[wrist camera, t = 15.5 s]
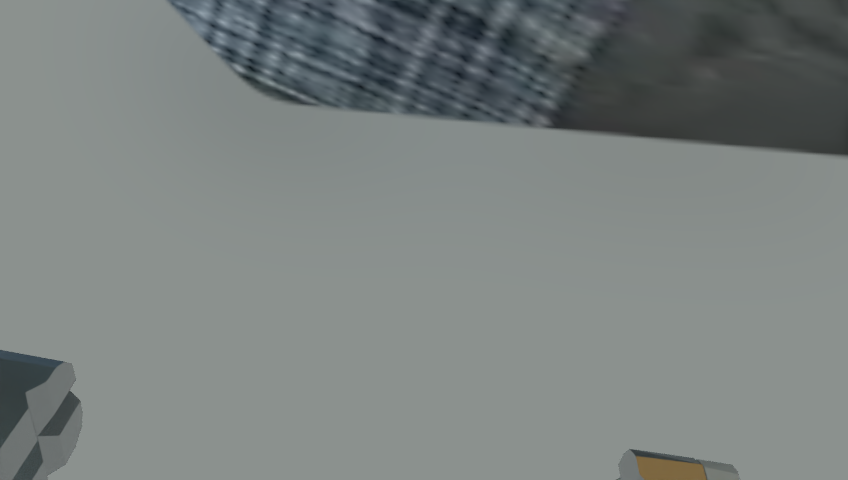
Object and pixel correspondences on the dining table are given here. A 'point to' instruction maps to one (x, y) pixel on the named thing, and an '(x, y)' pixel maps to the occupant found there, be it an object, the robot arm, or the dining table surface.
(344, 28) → the dining table surface
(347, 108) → the dining table surface
